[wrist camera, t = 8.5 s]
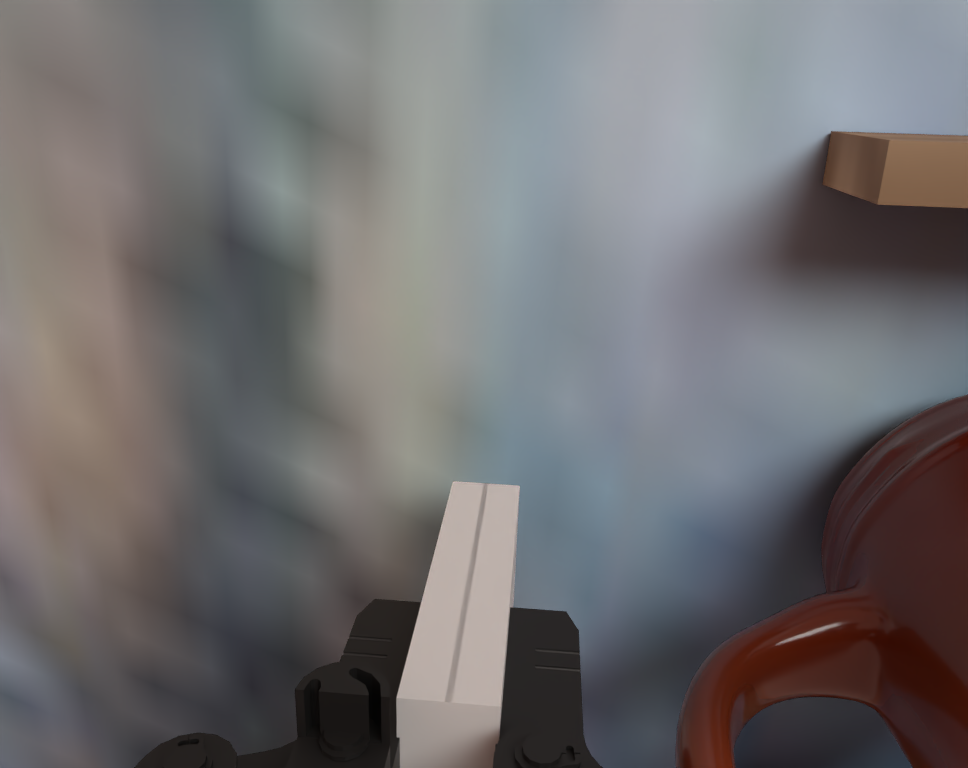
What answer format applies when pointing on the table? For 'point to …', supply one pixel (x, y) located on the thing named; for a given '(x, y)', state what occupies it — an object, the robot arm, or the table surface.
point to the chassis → (899, 168)
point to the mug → (865, 609)
